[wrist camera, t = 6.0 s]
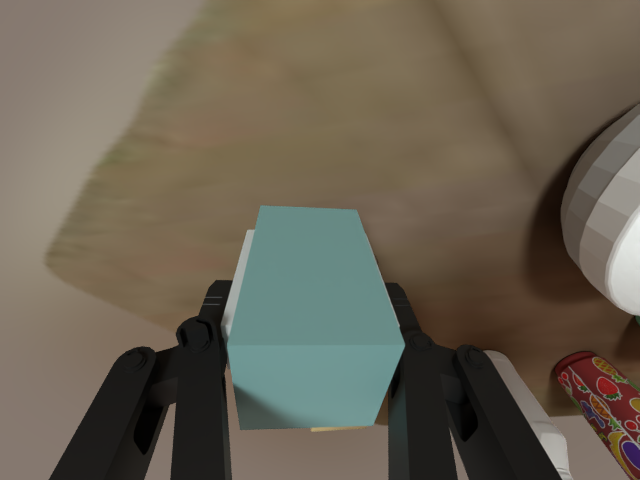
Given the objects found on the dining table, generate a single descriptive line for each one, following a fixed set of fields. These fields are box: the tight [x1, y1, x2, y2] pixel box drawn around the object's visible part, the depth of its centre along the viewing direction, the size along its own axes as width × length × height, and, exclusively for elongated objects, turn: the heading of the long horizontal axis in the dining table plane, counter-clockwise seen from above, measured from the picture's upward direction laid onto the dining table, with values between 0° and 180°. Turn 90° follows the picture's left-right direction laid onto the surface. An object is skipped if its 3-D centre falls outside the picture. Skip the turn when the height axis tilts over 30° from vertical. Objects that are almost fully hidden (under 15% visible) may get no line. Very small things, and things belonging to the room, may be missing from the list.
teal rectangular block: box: [227, 205, 405, 430], centre depth 13 cm, size 5×5×9 cm
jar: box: [449, 350, 573, 480], centre depth 35 cm, size 12×10×15 cm
